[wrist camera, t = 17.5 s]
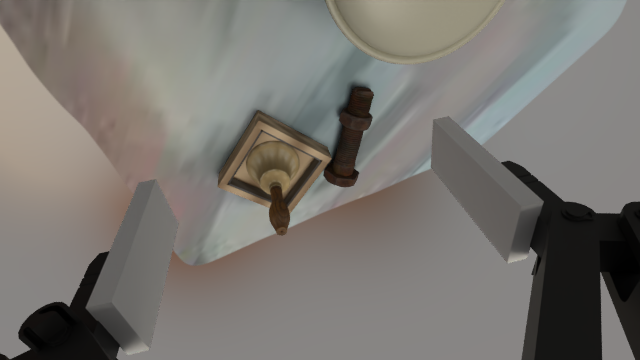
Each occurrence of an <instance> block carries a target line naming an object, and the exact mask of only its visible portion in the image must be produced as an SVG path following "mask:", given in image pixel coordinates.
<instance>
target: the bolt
mask: <svg viewBox="0 0 640 360" xmlns="http://www.w3.org/2000/svg"><path fill="white" fill-rule="evenodd" d="M352 90H353V91H352V93H351V94H352V95H351V97H350V102H349V106H348V108H344V109H343V110H342V112H341V115H340V119H339V121H340V122H341V124H342V125H343V129H342V133H341V137H340V141H339V145H338V149H337V153H336V157H335V159H334V162H333V163H330V164H329V165H328V166H327V167H326V168H325V171H324V177H325V178H326V180H327V181H328V182H330V183H332V184H334V185H337V186H340V187H350V186H353V185H354V184H355V182H356V180H357V178H358V175H359V172H358V171H356V170H355V169H354V166H355V160H356V156H357V153H358V150H359V147H360V143H361V139H362V135H363V131H364V130H367V129H368V128H369V127H370V124H371V121H372V118H373V117H372V115H371V114H370V113H369V110H370V107H371V106H370V105H371V103H372V99H373V96H374V93H373V92H371V90H370V89H368V88H363V87H355V88H354V89H352Z"/></svg>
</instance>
